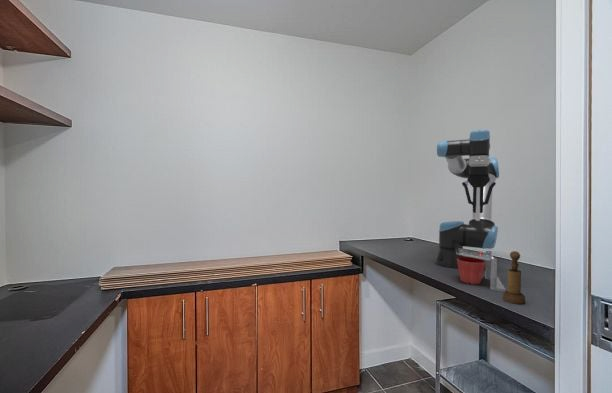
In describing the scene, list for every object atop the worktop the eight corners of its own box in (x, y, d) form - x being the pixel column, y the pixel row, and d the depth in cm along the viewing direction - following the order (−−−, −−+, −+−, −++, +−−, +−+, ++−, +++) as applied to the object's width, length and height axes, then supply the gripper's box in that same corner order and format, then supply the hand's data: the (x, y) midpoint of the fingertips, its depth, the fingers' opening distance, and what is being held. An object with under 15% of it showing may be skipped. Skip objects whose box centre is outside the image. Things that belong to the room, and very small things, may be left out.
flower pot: (489, 286, 124) (489, 263, 123) (460, 284, 126) (461, 261, 126) (479, 278, 134) (480, 257, 134) (453, 277, 136) (454, 256, 136)
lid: (455, 249, 138) (456, 245, 138) (490, 256, 132) (491, 251, 132) (456, 254, 126) (457, 250, 126) (495, 262, 120) (495, 257, 120)
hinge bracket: (485, 277, 136) (485, 250, 136) (497, 279, 134) (498, 251, 133) (490, 290, 119) (491, 259, 118) (505, 292, 116) (506, 260, 116)
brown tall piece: (505, 302, 106) (506, 252, 105) (500, 296, 112) (501, 249, 111) (527, 305, 103) (529, 254, 103) (521, 298, 109) (522, 250, 109)
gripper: (461, 166, 128) (460, 220, 129) (497, 165, 122) (496, 222, 123) (461, 167, 135) (460, 218, 135) (495, 166, 129) (494, 220, 129)
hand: (477, 220), depth 129 cm, fingers closed
